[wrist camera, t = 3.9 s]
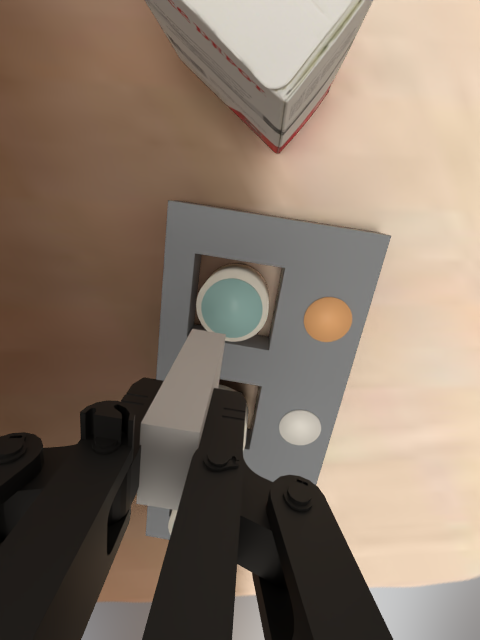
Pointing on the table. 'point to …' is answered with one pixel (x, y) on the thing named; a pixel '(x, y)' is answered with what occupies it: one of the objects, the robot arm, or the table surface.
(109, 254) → the table surface
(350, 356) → the board
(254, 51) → the ink box
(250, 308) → the button
